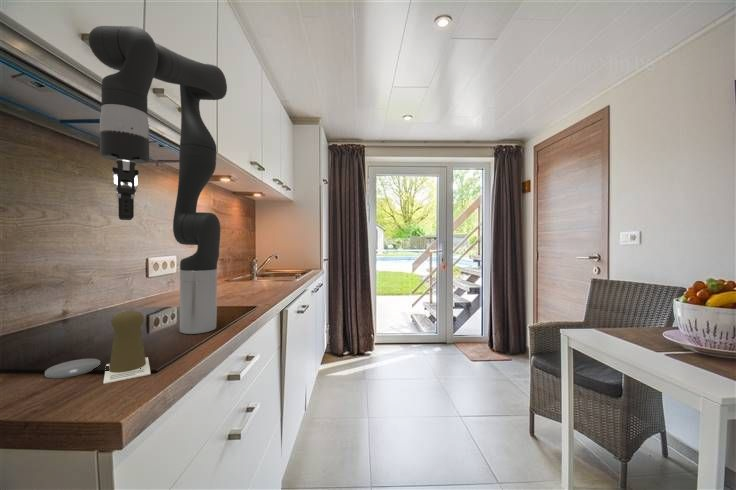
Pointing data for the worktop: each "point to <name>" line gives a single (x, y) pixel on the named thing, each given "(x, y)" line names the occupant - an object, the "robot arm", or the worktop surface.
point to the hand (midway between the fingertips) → (125, 219)
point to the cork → (127, 342)
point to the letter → (127, 373)
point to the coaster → (72, 368)
